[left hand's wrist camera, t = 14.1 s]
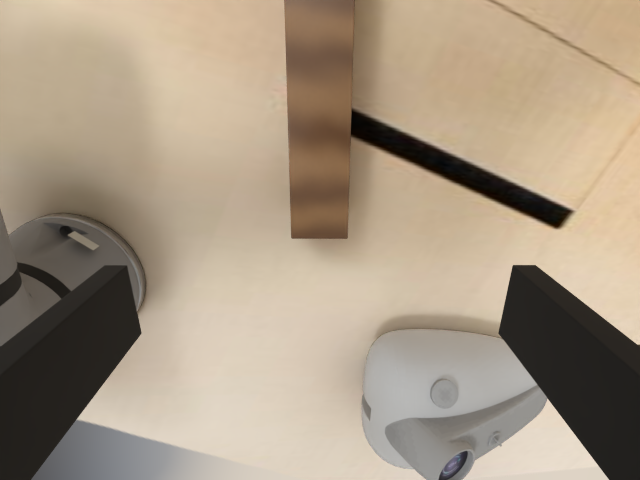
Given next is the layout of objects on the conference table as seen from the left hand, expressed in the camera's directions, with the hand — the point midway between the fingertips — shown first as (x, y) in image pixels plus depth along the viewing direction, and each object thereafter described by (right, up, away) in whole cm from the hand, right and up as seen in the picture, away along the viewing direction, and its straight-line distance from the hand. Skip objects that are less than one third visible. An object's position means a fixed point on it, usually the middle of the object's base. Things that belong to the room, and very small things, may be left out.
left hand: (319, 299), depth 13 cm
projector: (+17, -15, +35) cm, 41 cm away
